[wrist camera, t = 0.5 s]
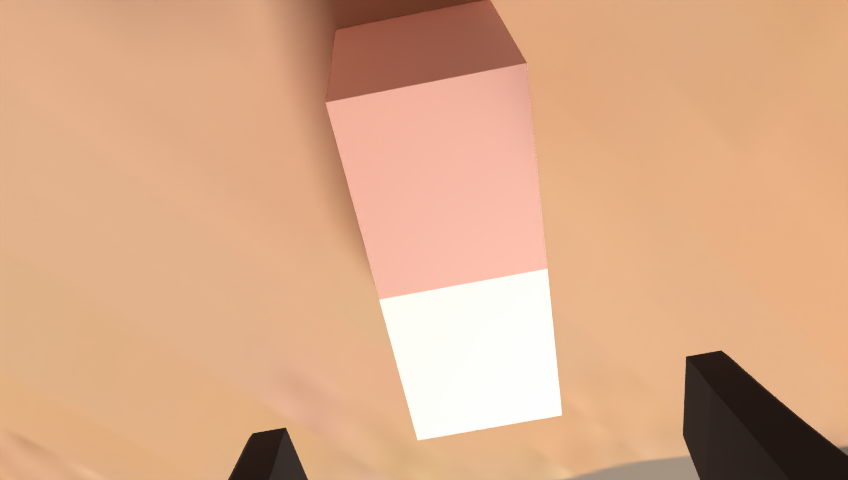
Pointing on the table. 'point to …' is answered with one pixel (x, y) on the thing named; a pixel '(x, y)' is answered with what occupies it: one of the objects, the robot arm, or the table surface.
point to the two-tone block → (450, 212)
